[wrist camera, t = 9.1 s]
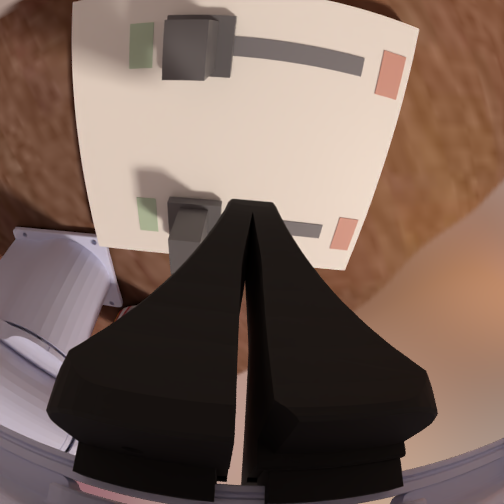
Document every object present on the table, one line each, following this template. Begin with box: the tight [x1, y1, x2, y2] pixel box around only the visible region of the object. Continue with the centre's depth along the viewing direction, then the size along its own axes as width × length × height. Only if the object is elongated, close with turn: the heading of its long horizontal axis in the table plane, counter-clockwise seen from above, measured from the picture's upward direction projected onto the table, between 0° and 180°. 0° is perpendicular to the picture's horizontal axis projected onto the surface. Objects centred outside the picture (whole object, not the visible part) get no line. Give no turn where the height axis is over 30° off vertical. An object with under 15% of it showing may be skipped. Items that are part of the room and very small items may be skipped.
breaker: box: [167, 197, 222, 274], centre depth 17 cm, size 3×3×3 cm
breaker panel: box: [72, 0, 419, 270], centre depth 16 cm, size 17×16×2 cm
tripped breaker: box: [162, 15, 237, 81], centre depth 10 cm, size 3×3×3 cm
